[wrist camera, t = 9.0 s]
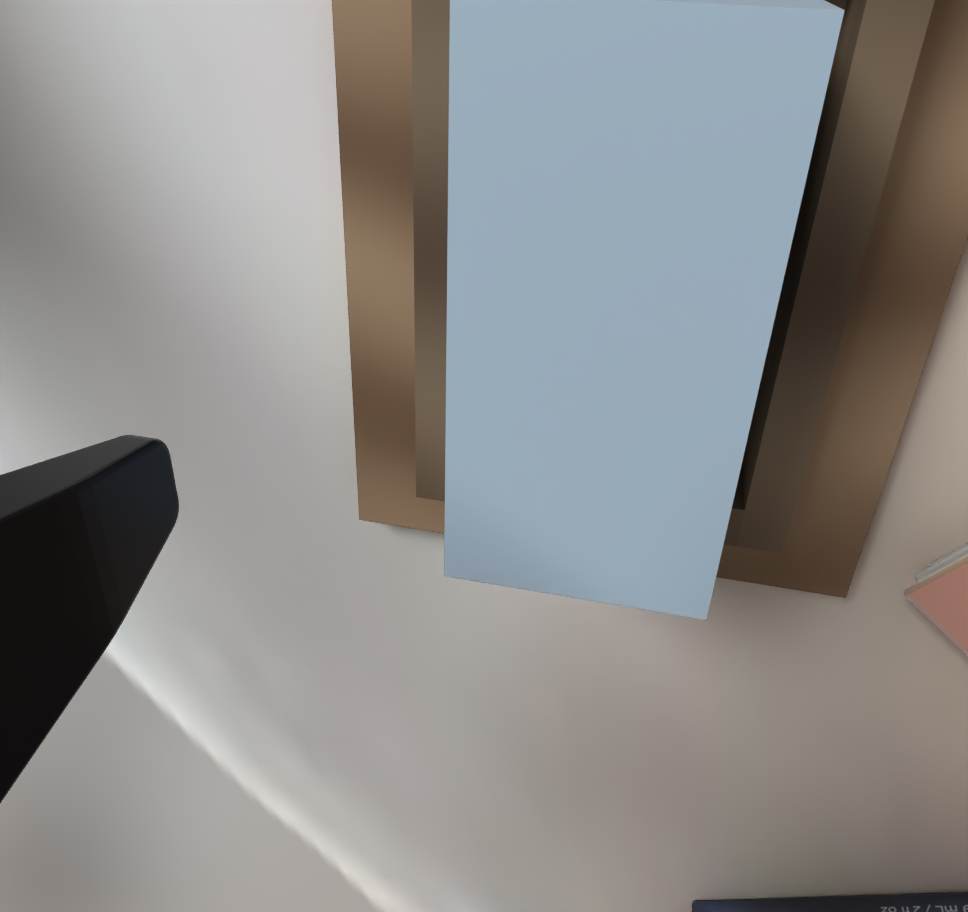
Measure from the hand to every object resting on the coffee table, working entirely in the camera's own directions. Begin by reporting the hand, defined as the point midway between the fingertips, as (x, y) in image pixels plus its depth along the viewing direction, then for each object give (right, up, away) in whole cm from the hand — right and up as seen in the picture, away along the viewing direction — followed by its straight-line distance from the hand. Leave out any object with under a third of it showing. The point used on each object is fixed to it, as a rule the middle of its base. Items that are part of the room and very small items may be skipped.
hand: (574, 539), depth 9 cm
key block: (+2, +6, +9) cm, 11 cm away
